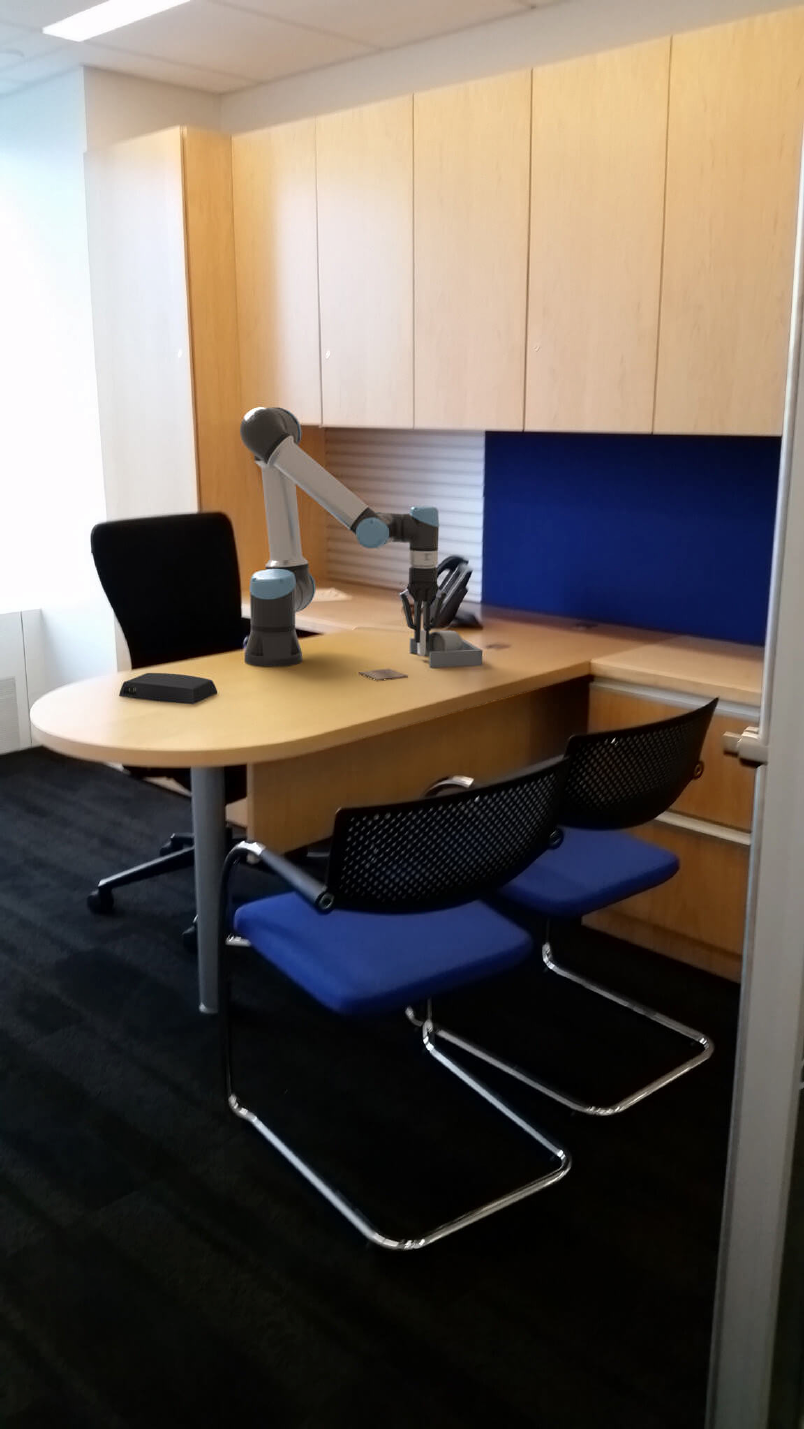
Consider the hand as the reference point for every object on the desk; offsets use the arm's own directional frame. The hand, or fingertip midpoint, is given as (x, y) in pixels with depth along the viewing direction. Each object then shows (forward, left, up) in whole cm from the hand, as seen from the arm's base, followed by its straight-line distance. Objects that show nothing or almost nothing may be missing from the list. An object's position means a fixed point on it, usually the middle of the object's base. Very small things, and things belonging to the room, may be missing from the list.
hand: (421, 654), depth 306 cm
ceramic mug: (+6, +2, -2) cm, 6 cm away
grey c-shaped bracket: (+6, 0, -2) cm, 6 cm away
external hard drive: (-69, -25, -2) cm, 73 cm away
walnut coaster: (-15, -16, -2) cm, 22 cm away
